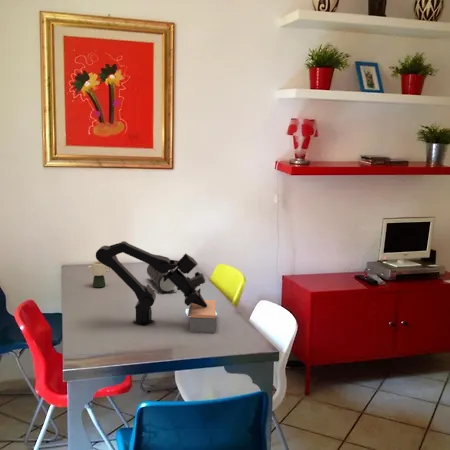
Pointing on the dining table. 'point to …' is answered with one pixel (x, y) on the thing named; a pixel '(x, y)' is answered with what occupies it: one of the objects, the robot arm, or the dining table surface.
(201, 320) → the cable box
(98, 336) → the dining table surface
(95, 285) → the trophy cup
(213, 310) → the lid
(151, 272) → the muzzle brake
